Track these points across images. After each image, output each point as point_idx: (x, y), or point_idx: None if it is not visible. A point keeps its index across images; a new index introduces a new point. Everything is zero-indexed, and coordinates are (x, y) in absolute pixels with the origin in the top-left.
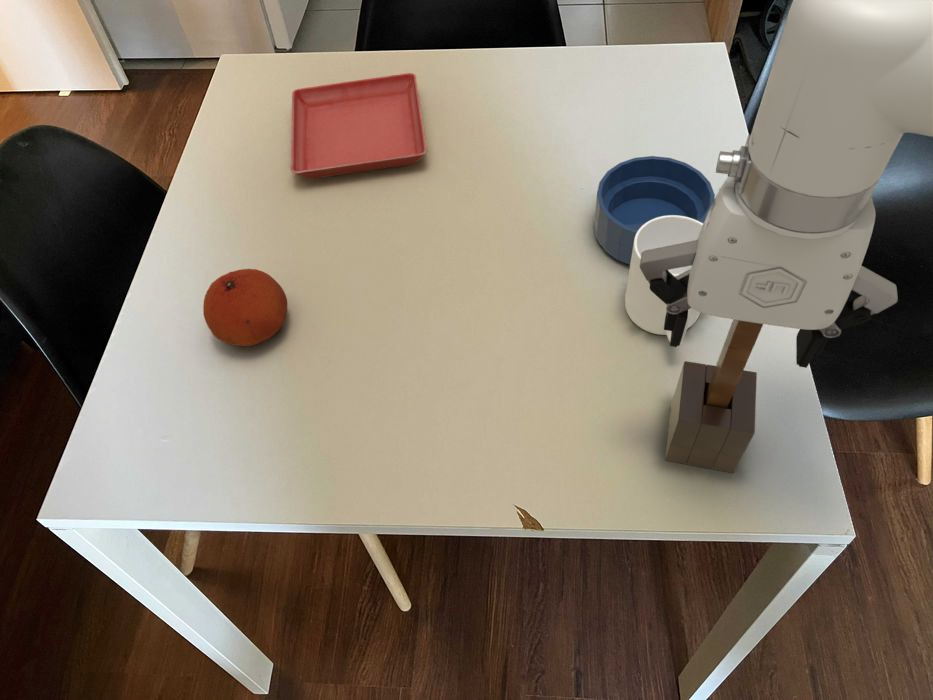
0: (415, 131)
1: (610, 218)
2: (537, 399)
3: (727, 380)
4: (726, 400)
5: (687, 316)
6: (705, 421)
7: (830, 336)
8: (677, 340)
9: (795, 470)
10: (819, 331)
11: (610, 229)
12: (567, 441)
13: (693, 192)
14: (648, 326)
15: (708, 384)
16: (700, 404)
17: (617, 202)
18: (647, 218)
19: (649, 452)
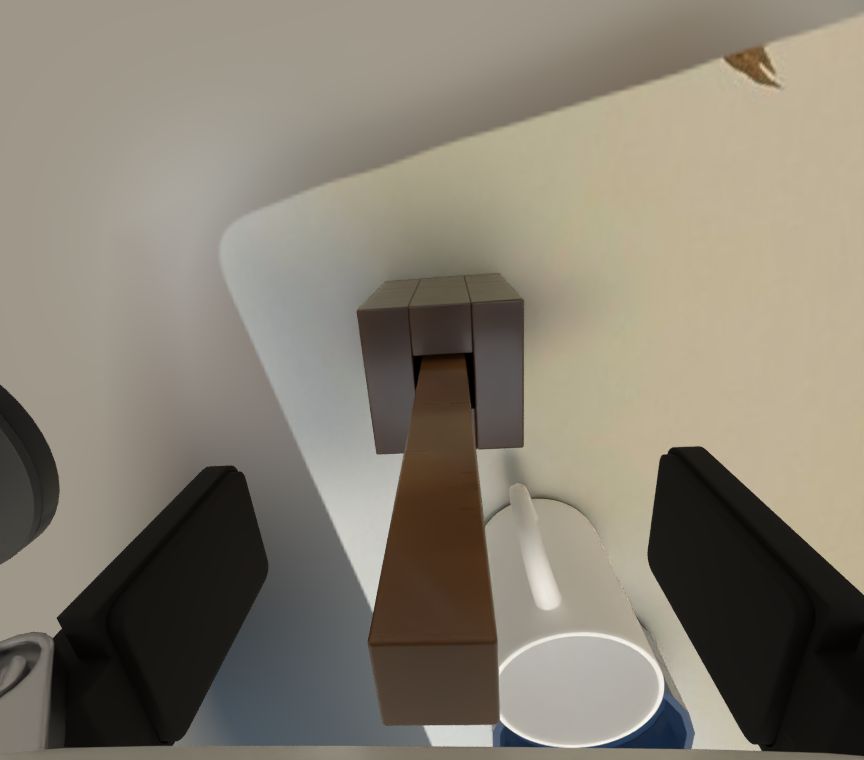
0: None
1: (669, 695)
2: (737, 333)
3: (441, 401)
4: (427, 369)
5: (795, 617)
6: (463, 311)
7: (20, 643)
8: (701, 471)
9: (293, 314)
10: (90, 654)
11: None
12: (677, 262)
13: (518, 736)
14: (559, 508)
15: None
16: (479, 351)
17: None
18: None
19: (527, 281)
